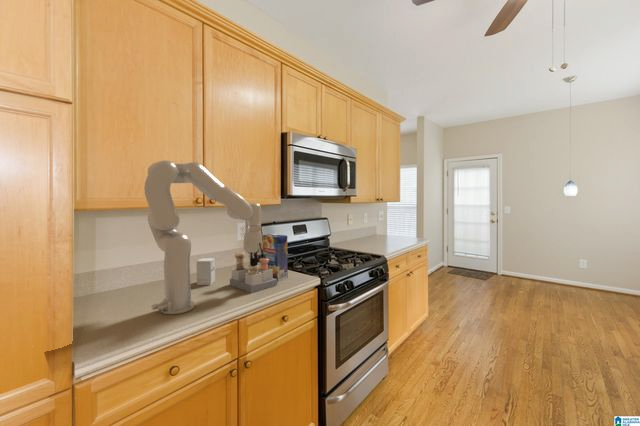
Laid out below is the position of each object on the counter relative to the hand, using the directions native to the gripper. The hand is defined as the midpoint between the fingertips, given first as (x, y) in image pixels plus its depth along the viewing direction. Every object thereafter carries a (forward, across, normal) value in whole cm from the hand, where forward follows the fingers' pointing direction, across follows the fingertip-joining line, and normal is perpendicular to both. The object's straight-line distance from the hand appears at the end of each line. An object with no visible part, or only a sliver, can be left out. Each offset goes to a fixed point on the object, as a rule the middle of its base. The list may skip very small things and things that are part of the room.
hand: (253, 265), depth 141 cm
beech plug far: (+4, -12, 0) cm, 13 cm away
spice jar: (+9, 0, 0) cm, 9 cm away
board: (+12, -6, +4) cm, 14 cm away
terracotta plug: (+7, -2, +8) cm, 11 cm away
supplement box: (+12, -27, -11) cm, 32 cm away
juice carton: (+12, -8, +20) cm, 24 cm away
